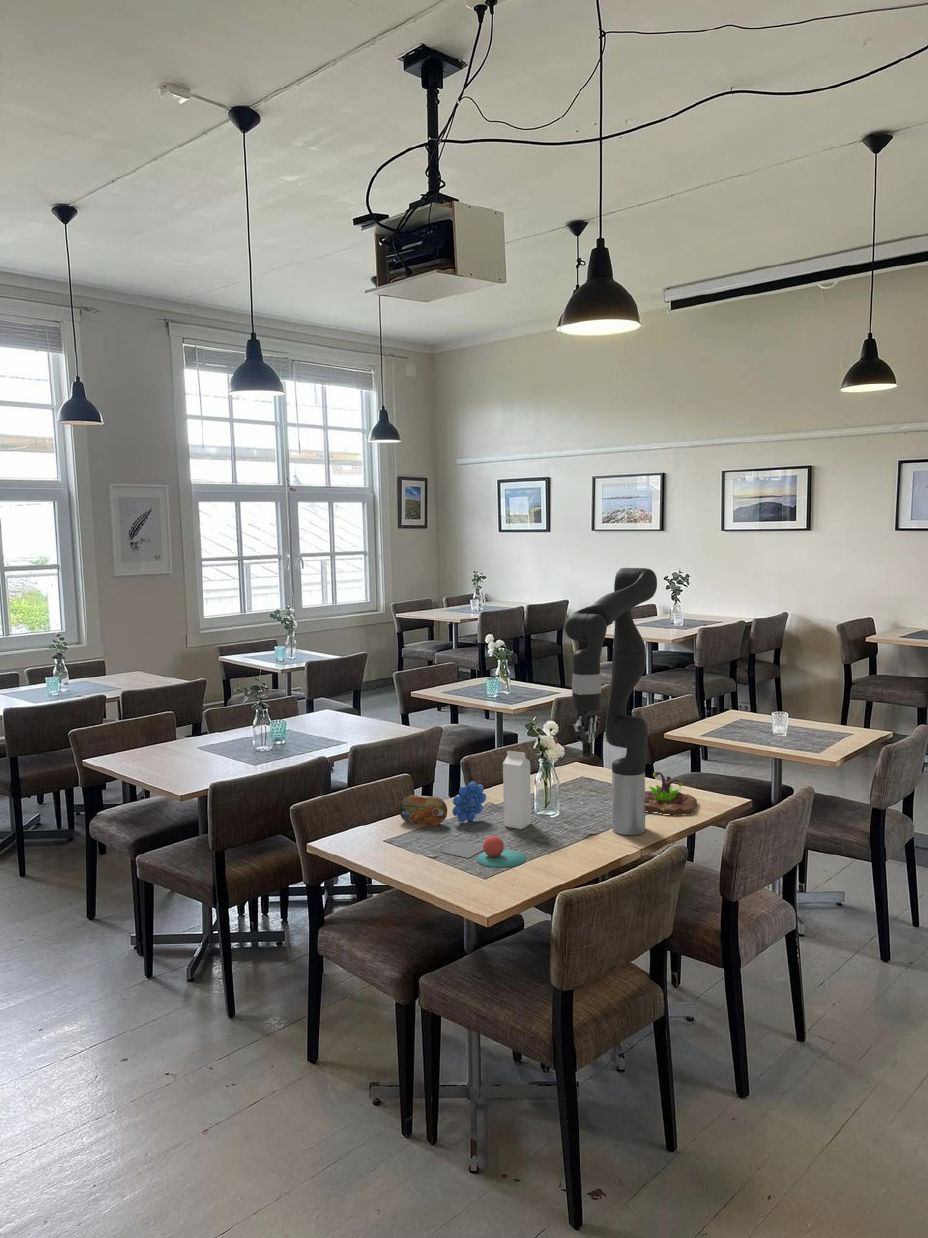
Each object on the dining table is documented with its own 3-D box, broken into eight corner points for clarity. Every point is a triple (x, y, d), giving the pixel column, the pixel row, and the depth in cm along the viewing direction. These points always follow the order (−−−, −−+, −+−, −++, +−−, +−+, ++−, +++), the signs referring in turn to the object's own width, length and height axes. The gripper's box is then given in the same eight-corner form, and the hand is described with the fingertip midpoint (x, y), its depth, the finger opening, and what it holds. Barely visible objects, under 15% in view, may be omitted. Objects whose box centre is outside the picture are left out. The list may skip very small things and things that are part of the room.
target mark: (494, 847, 238) (494, 846, 238) (535, 855, 231) (535, 855, 231) (467, 861, 228) (467, 860, 228) (509, 871, 220) (509, 870, 220)
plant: (637, 796, 285) (637, 762, 284) (699, 800, 278) (699, 766, 277) (626, 813, 266) (625, 777, 266) (691, 819, 259) (691, 782, 258)
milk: (521, 829, 253) (520, 755, 251) (503, 826, 256) (502, 753, 254) (531, 823, 258) (530, 750, 256) (513, 820, 261) (512, 748, 259)
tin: (398, 822, 262) (398, 795, 261) (403, 819, 265) (402, 792, 264) (444, 827, 256) (444, 799, 256) (449, 824, 259) (448, 796, 259)
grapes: (479, 814, 268) (478, 776, 267) (490, 820, 262) (489, 780, 261) (446, 821, 262) (445, 782, 261) (457, 827, 256) (456, 787, 255)
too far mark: (460, 842, 242) (460, 842, 242) (487, 848, 237) (487, 847, 237) (441, 852, 235) (441, 851, 235) (468, 858, 230) (468, 857, 230)
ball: (493, 831, 234) (508, 837, 230) (492, 850, 235) (507, 857, 231) (479, 835, 230) (494, 842, 226) (478, 855, 231) (493, 862, 227)
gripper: (585, 685, 233) (586, 749, 234) (561, 693, 222) (562, 760, 223) (611, 687, 228) (611, 752, 230) (588, 695, 218) (588, 763, 219)
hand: (587, 756), depth 227 cm, fingers closed
